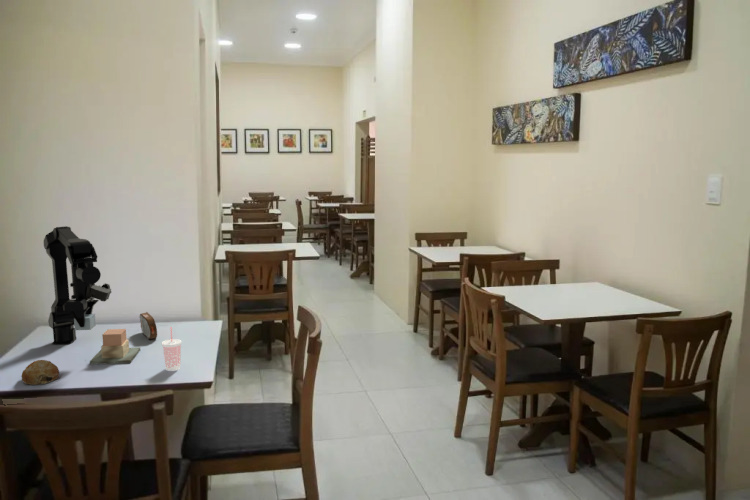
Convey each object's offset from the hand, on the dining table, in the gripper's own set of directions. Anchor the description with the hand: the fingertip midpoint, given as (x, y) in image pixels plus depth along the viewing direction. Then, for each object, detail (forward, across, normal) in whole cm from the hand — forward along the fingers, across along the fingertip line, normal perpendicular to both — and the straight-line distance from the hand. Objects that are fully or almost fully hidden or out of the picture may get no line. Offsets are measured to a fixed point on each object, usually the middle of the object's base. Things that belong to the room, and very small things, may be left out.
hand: (85, 324), depth 205 cm
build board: (+13, +3, -8) cm, 15 cm away
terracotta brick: (+8, +3, -8) cm, 12 cm away
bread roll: (+13, -16, +9) cm, 22 cm away
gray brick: (+1, 0, 0) cm, 1 cm away
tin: (+13, +26, -13) cm, 32 cm away
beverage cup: (+13, -10, -30) cm, 34 cm away
